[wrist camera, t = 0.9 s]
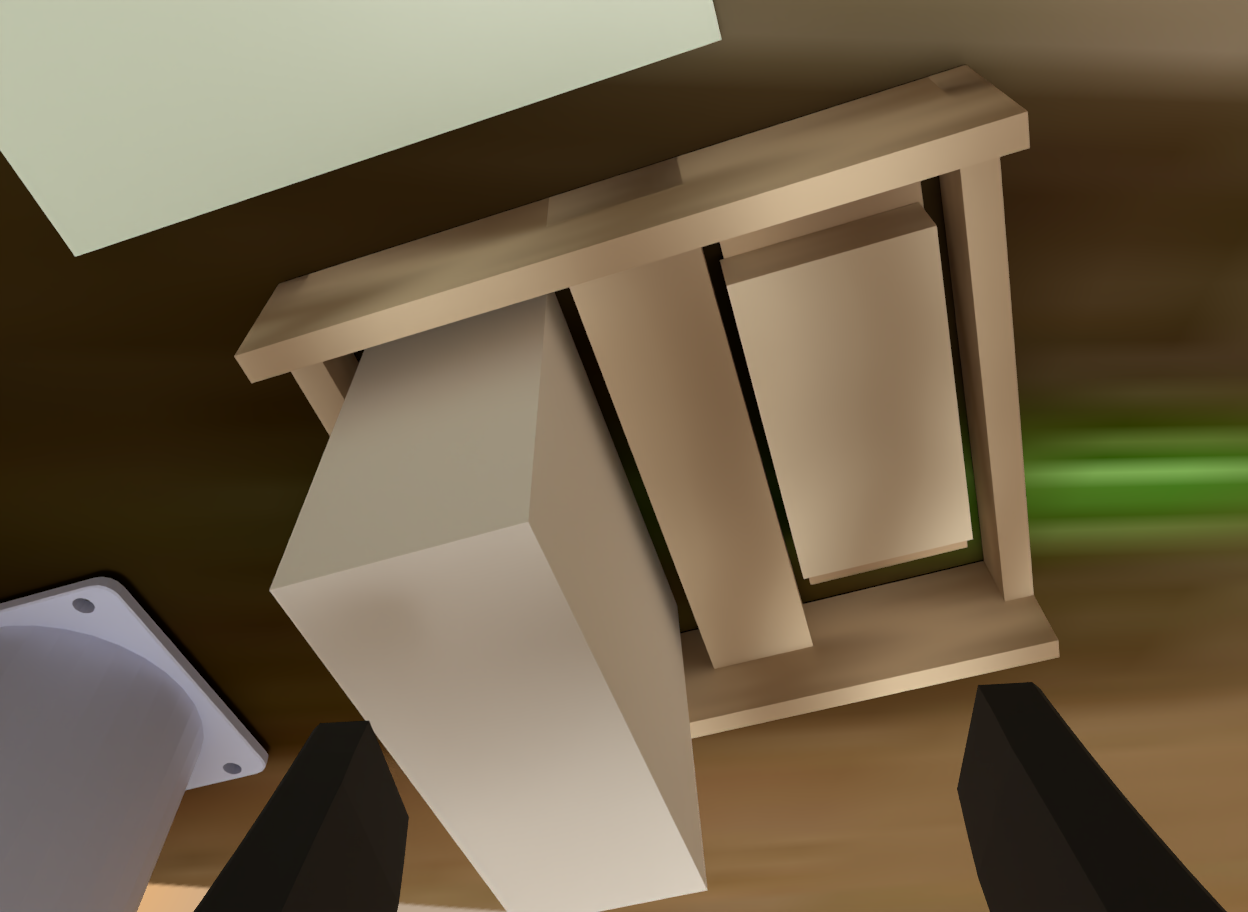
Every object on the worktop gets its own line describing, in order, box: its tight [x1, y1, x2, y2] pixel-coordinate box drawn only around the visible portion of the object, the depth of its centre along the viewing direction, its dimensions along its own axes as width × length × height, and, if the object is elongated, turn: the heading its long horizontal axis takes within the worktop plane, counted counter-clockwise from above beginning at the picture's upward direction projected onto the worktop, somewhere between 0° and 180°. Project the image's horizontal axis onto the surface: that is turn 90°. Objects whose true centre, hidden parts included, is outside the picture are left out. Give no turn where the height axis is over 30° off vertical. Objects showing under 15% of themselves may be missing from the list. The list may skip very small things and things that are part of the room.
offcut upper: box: [720, 202, 973, 579], centre depth 20 cm, size 4×8×1 cm, turn 17°
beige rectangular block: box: [269, 292, 707, 912], centre depth 19 cm, size 4×10×8 cm, turn 17°
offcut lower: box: [720, 181, 967, 585], centre depth 22 cm, size 4×10×1 cm, turn 17°
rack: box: [234, 65, 1059, 738], centre depth 21 cm, size 14×13×3 cm
